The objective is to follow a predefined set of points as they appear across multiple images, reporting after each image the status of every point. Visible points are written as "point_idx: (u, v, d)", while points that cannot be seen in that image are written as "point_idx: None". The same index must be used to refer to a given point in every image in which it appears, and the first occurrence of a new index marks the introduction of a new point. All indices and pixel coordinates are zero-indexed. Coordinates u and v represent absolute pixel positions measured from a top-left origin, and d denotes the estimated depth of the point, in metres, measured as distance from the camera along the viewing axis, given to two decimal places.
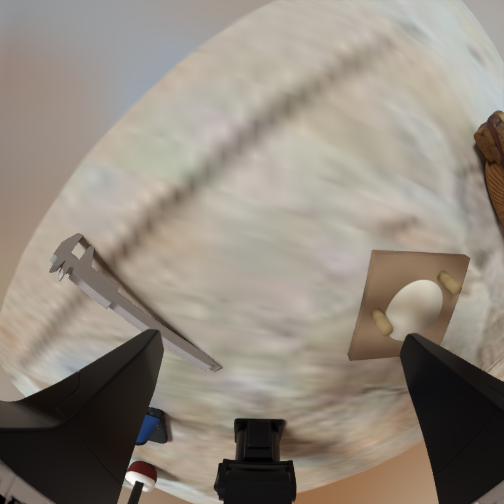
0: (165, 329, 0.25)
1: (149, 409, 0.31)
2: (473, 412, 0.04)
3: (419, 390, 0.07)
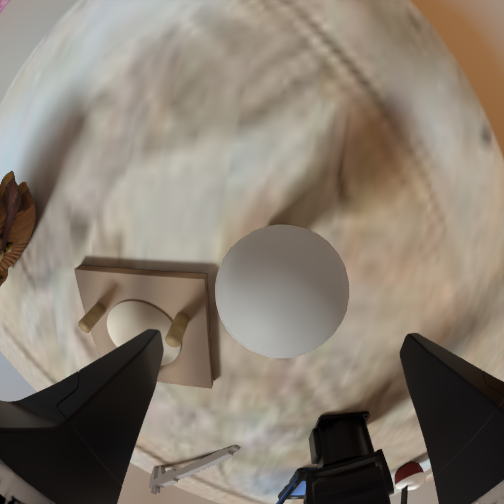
0: (197, 462, 0.31)
1: (295, 474, 0.33)
2: (473, 412, 0.04)
3: (419, 390, 0.07)
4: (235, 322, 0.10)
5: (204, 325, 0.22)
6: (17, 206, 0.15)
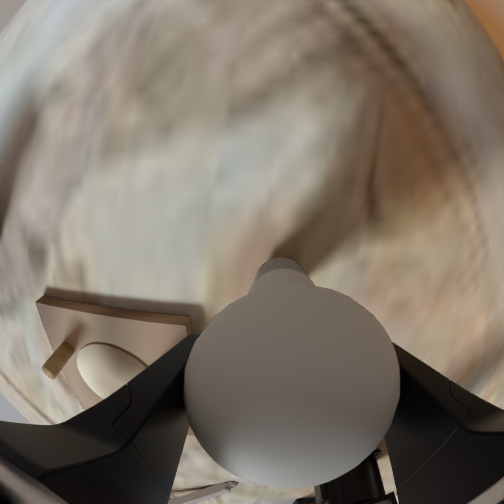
0: (192, 494, 0.25)
1: (294, 503, 0.28)
2: (434, 426, 0.05)
3: None
4: (214, 457, 0.05)
5: None
6: None
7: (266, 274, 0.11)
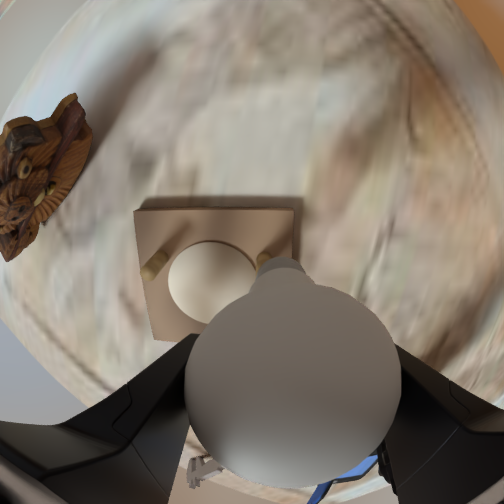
0: None
1: None
2: (434, 426, 0.05)
3: None
4: (215, 456, 0.05)
5: None
6: (78, 128, 0.14)
7: (267, 273, 0.11)
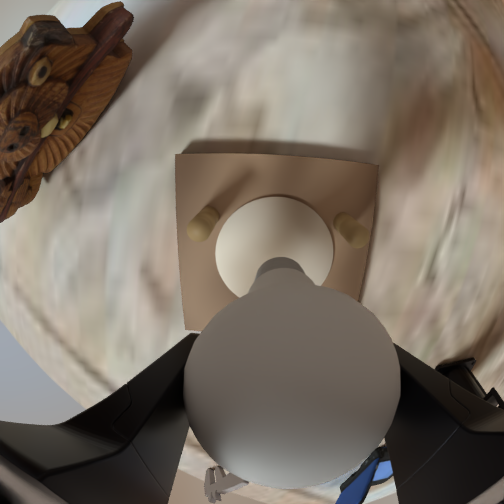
0: None
1: (371, 456, 0.28)
2: (434, 426, 0.05)
3: None
4: (214, 456, 0.05)
5: (367, 232, 0.16)
6: (120, 36, 0.09)
7: (266, 273, 0.11)
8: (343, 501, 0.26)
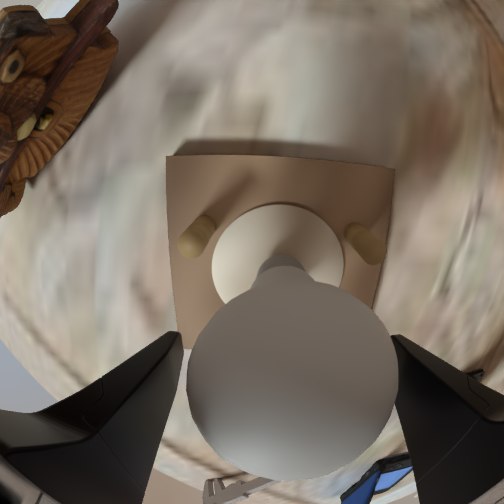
0: None
1: (372, 468, 0.26)
2: (455, 419, 0.04)
3: (401, 393, 0.07)
4: (216, 448, 0.05)
5: None
6: (103, 24, 0.07)
7: (267, 271, 0.11)
8: None
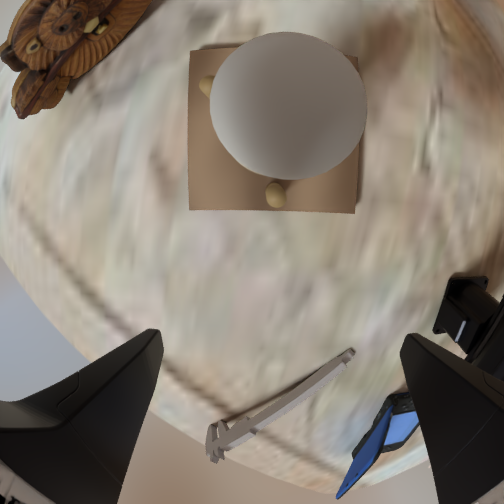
0: (290, 393, 0.26)
1: (383, 406, 0.28)
2: (473, 412, 0.04)
3: (419, 390, 0.07)
4: (233, 95, 0.08)
5: None
6: None
7: None
8: (356, 464, 0.26)
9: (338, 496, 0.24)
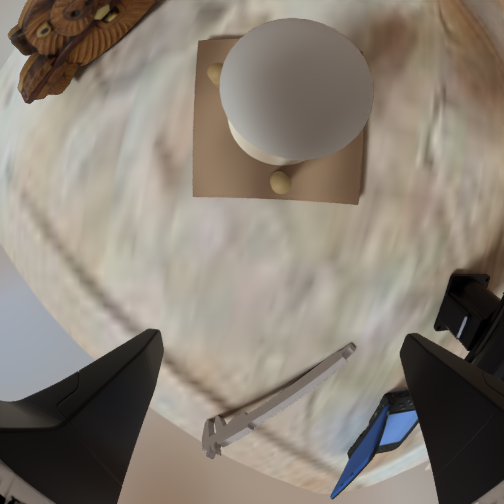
0: (290, 388, 0.25)
1: (380, 405, 0.28)
2: (473, 412, 0.04)
3: (419, 390, 0.07)
4: (244, 73, 0.07)
5: None
6: None
7: None
8: (352, 463, 0.26)
9: (333, 496, 0.24)
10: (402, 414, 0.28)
